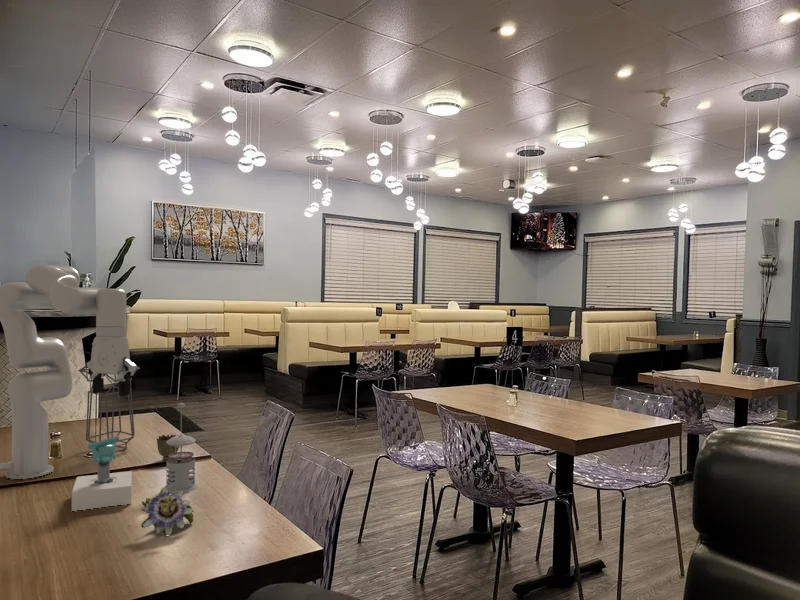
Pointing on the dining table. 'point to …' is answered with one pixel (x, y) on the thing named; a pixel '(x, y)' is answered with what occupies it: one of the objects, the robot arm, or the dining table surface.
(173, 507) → the passion flower
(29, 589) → the dining table surface
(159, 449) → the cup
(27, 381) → the robot arm
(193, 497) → the dining table surface
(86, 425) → the geometric lantern
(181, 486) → the french press
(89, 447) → the teal strapped cylinder
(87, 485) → the block
